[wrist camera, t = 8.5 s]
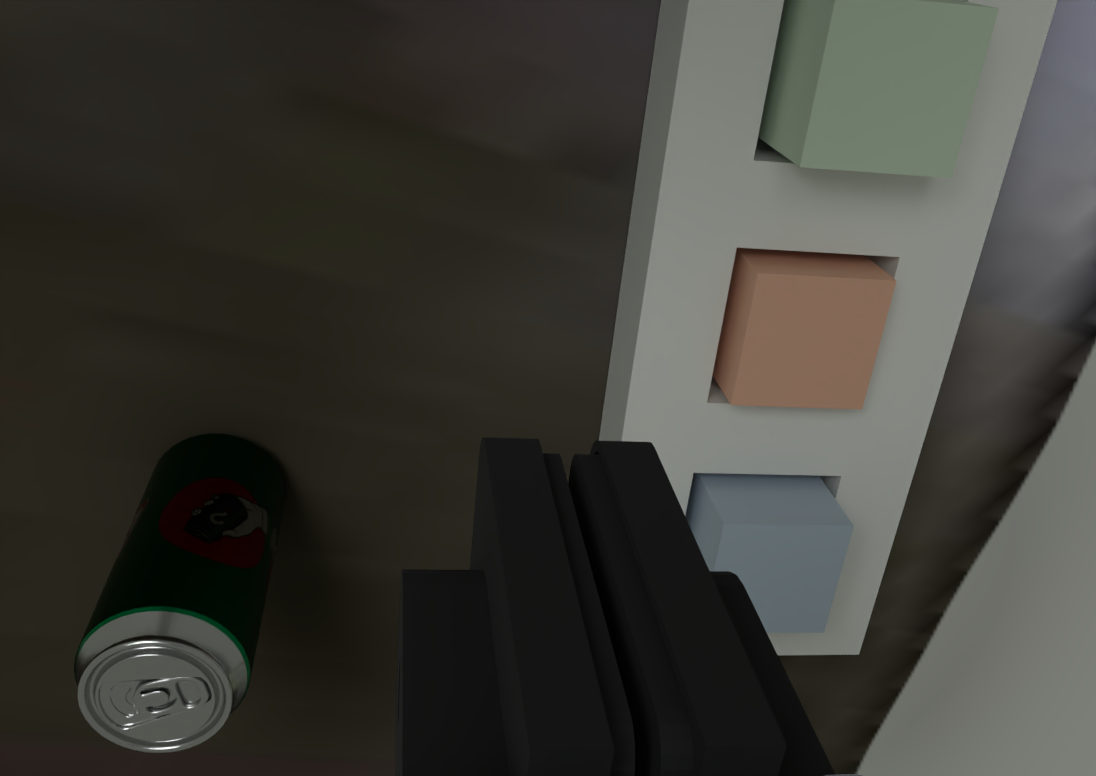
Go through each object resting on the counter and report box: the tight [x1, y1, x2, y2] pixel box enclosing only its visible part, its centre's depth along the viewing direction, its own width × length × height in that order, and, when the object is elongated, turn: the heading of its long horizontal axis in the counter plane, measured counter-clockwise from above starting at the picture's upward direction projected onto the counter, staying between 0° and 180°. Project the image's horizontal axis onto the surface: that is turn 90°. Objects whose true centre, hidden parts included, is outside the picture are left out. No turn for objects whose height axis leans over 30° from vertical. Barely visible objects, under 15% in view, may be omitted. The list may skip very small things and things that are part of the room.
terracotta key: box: [712, 248, 896, 409], centre depth 37 cm, size 5×5×4 cm
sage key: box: [759, 0, 999, 178], centre depth 32 cm, size 5×5×4 cm
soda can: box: [74, 434, 286, 753], centre depth 35 cm, size 5×5×12 cm
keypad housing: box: [599, 0, 1058, 655], centre depth 38 cm, size 30×12×4 cm, turn 174°
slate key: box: [686, 473, 854, 633], centre depth 39 cm, size 5×5×4 cm
